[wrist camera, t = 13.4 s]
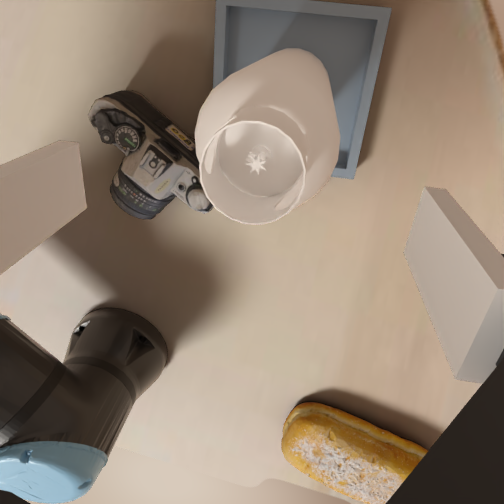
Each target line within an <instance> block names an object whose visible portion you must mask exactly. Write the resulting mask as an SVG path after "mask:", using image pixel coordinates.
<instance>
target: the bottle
mask: <svg viewBox="0 0 504 504" xmlns="http://www.w3.org/2000/svg"><path fill="white" fill-rule="evenodd" d="M195 145H196V155H197V158H198V161H199V163H200V164H199V171H200V182H201V185H202V187H203V190H204V193H205V195H206V197H207V198H208V200H209V201H210V202H211V204H212V205H213V206H214V207H215V209H216V210H218V211H219V212H220V213H222V214H223V215H225V216H226V217H227V218H229V219H231V220H234V221H237V222H240V223H243V224H253V225H261V224H266V223H270V222H274V221H276V220H278V219H280V218H281V217H283V216H285V215H286V214H288V213H289V212H290V211H291V210H292V209H294V208H297V207H299V206H300V205H302V204H304V203H305V202H307V201H309V200H310V199H312V198H314V197H315V196H316V195H317V193H318V192H319V191H320V190H321V189H322V188H323V187H324V186H325V184H326V183H327V182H328V181H329V179H330V177H331V175H332V172H333V170H334V168H335V166H336V163H337V161H338V155H339V145H340V132H339V127H338V122H337V116H336V111H335V106H334V101H333V96H332V91H331V86H330V81H329V76H328V72H327V70H326V69H325V67H324V65H323V64H322V62H321V61H320V60H319V59H318V58H317V57H316V56H315V55H313V54H312V53H311V52H308V51H305V50H303V49H300V48H286V49H283V50H280V51H277V52H275V53H273V54H271V55H269V56H267V57H265V58H263V59H261V60H259V61H257V62H255V63H253V64H251V65H249V66H247V67H245V68H243V69H241V70H239V71H237V72H235V73H233V74H231V75H230V76H228V77H227V78H226V79H225V80H224V81H222V82H221V83H220V84H219V85H217V86H216V87H215V88H214V89H212V91H211V93H210V94H209V96H208V97H207V99H206V101H205V102H204V104H203V106H202V107H201V109H200V111H199V116H198V120H197V124H196V128H195Z"/></svg>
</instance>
